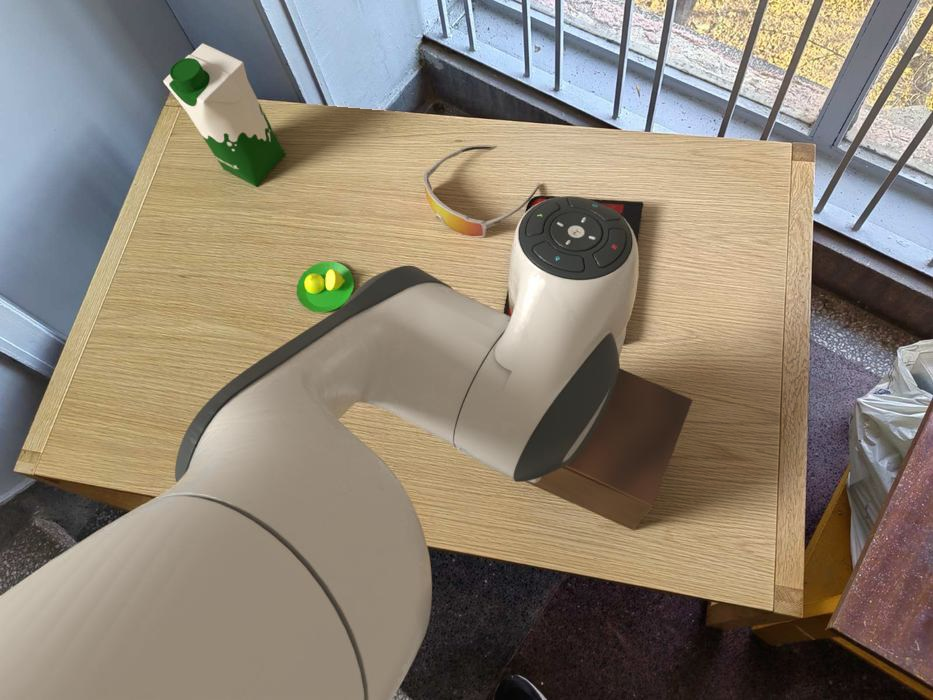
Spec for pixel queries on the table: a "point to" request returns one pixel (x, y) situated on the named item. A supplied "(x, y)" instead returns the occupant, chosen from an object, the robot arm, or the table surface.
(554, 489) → the chest
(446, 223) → the sunglasses
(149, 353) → the table surface
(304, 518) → the robot arm
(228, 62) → the soya milk
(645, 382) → the chest lid
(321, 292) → the plate with lemons
